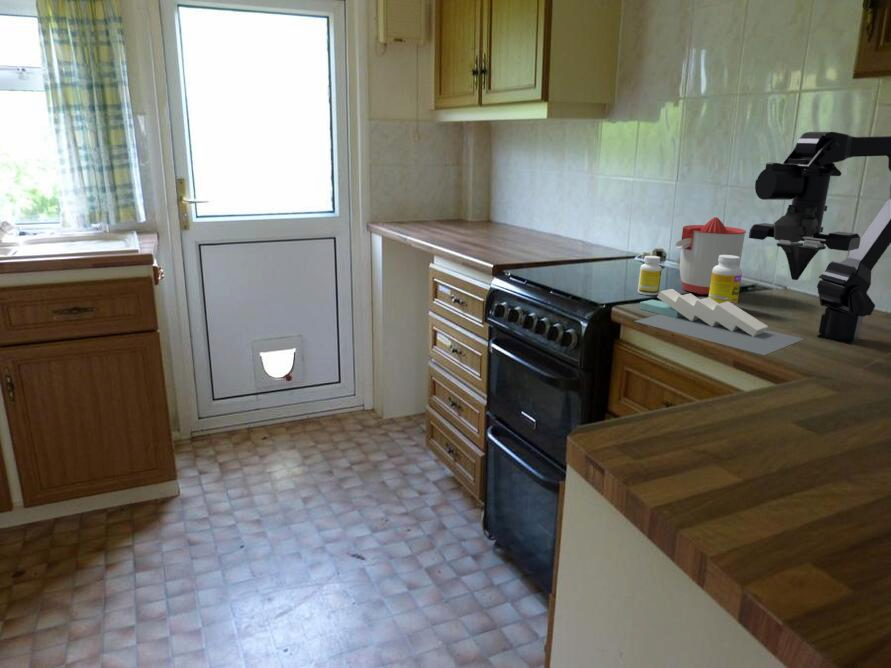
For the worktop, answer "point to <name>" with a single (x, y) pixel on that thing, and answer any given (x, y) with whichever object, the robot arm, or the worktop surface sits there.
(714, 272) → the supplement bottle
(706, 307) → the domino
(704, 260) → the citrus juicer
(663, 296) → the domino
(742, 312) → the domino
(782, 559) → the worktop surface
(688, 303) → the domino
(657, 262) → the supplement bottle
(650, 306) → the teal domino
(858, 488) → the worktop surface
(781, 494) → the worktop surface
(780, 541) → the worktop surface
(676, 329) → the slate mat
